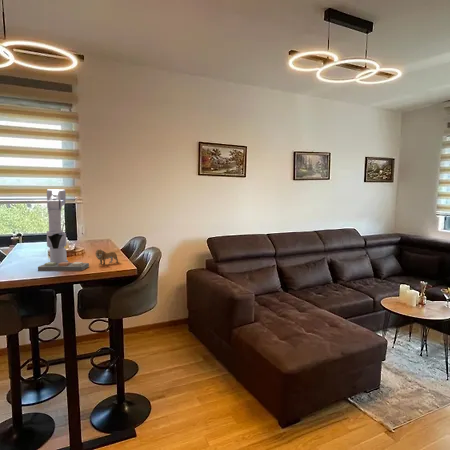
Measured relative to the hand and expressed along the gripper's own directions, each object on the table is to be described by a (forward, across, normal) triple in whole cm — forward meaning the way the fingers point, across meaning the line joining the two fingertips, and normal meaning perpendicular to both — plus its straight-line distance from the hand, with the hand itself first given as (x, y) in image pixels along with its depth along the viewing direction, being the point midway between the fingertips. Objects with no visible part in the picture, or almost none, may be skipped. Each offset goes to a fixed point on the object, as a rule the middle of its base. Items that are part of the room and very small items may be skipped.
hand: (55, 248), depth 177 cm
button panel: (+10, +1, +5) cm, 12 cm away
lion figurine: (+11, -12, +23) cm, 28 cm away
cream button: (+10, +1, +12) cm, 16 cm away
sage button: (+10, +1, -2) cm, 10 cm away
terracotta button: (+10, +1, +5) cm, 11 cm away
